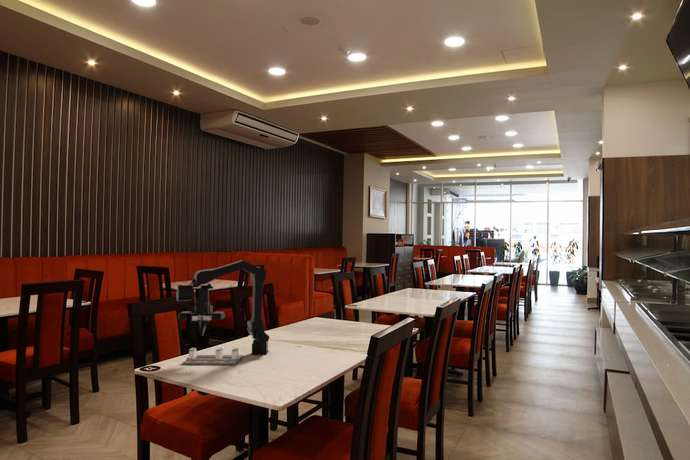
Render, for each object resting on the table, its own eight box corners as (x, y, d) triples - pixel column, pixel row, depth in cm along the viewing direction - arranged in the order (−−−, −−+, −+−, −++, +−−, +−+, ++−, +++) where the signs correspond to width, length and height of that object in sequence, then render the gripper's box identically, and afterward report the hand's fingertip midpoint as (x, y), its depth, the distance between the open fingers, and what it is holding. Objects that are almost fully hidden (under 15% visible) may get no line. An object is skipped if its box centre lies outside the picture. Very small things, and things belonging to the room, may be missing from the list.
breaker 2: (222, 357, 200) (222, 348, 200) (220, 359, 196) (220, 350, 196) (217, 357, 200) (217, 348, 200) (215, 359, 196) (215, 350, 197)
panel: (243, 357, 204) (243, 353, 204) (235, 365, 191) (235, 361, 191) (193, 356, 205) (193, 352, 205) (182, 364, 192) (182, 360, 192)
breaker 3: (238, 357, 199) (238, 348, 199) (236, 359, 196) (236, 350, 196) (233, 357, 199) (233, 348, 199) (231, 359, 196) (231, 350, 196)
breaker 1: (196, 357, 200) (196, 347, 200) (193, 359, 197) (193, 349, 197) (191, 357, 200) (191, 347, 200) (189, 359, 197) (189, 349, 197)
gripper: (228, 297, 206) (228, 331, 206) (187, 296, 207) (187, 331, 207) (220, 300, 195) (220, 337, 195) (177, 300, 196) (177, 337, 196)
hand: (201, 335), depth 198 cm, fingers closed
